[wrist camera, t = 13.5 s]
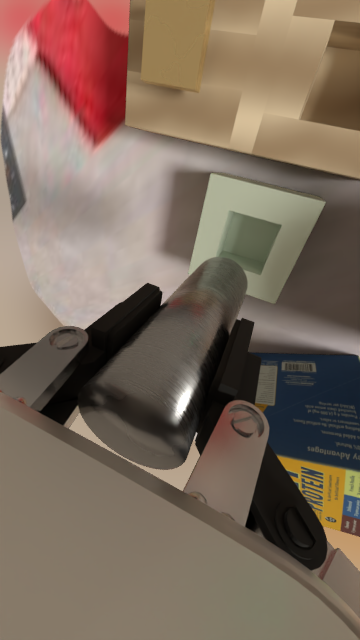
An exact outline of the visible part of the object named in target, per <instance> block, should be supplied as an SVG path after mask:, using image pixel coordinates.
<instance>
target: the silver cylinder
mask: <svg viewBox="0 0 360 640" xmlns="http://www.w3.org/2000/svg"><path fill="white" fill-rule="evenodd" d="M247 287H248V281H247V276H246V274H245V272H244V270H243V269H242V267H241V266H240V265H239V264H238V263H236V262H235V261H233V260H231V259H229V258H225V257H213V258H210V259H208V260H206V261H204V262H203V263H202V264H201V265H200V266H199V267H198V268H197V269H196V270H195V271H194V272H193V273H192V274H191V275H190V276H189V277H188V278H187V279H186V280H185V281H184V282H183V283H182V284H181V285H180V287H179V288H178V289H177V290H176V291H175V292H174V293H173V294H172V295H171V296H170V297H169V298H168V299H167V300H166V301H165V302H164V303H163V304H162V305H161V306H160V307H159V308H158V309H157V311H156V312H155V313H154V314H153V315H152V316H151V317H150V318H149V319H148V320H147V321H146V322H145V323H144V324H143V325H142V326H141V327H140V328H139V329H138V330H137V331H136V332H135V333H134V335H133V336H132V337H131V338H130V339H129V340H128V341H127V342H126V343H125V344H124V345H123V346H122V347H121V348H120V349H119V350H118V351H117V352H116V353H115V354H114V355H113V356H112V357H111V359H110V360H109V361H108V362H107V363H106V364H105V365H104V366H103V367H102V368H101V369H100V370H99V371H98V372H97V373H96V374H95V375H94V376H93V377H92V378H91V379H90V380H89V381H88V383H87V384H86V385H85V386H84V387H83V388H82V389H81V390H80V392H79V394H78V398H77V400H78V408H79V411H80V413H81V415H82V418H83V419H84V421H85V422H86V424H87V425H88V426H89V428H90V429H91V430H92V432H93V433H94V434H95V435H96V436H97V437H98V438H99V439H100V440H101V441H102V442H103V443H105V444H106V445H107V446H108V447H110V448H111V449H112V450H114V451H115V452H117V453H118V454H120V455H122V456H123V457H125V458H127V459H129V460H131V461H133V462H135V463H137V464H140V465H143V466H146V467H150V468H155V469H162V470H168V469H174V468H177V467H179V466H181V465H182V464H183V463H184V462H185V460H186V458H187V455H188V453H189V450H190V447H191V444H192V442H193V439H194V436H195V433H196V431H197V428H198V425H199V422H200V419H201V417H202V414H203V411H204V408H205V400H206V398H207V395H208V392H209V389H210V387H211V384H212V381H213V379H214V376H215V373H216V370H217V368H218V365H219V362H220V360H221V357H222V354H223V352H224V349H225V346H226V343H227V341H228V338H229V335H230V333H231V330H232V328H233V325H234V323H235V321H236V319H237V317H238V314H239V311H240V308H241V305H242V303H243V300H244V297H245V294H246V291H247Z"/></svg>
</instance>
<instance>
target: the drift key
mask: <svg viewBox="0 0 360 640" xmlns="http://www.w3.org/2000/svg"><path fill="white" fill-rule="evenodd" d="M214 6H215V0H146V5H145V21H144V36H143V52H142V67H141V80H142V81H144V82H145V83H147V84H152V85H157V86H163V87H168V88H174V89H179V90H184V91H190V92H195V93H200V87H201V81H202V75H203V69H204V64H205V58H206V52H207V46H208V40H209V35H210V29H211V23H212V17H213V12H214Z"/></svg>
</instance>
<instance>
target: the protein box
mask: <svg viewBox="0 0 360 640" xmlns="http://www.w3.org/2000/svg"><path fill="white" fill-rule="evenodd" d="M251 354H254V355H256V356H259V357H261V358H262V359H261V367H260V374H259V380H258V387H257V394H256V400H255V406H256V407H257V408H259V409H260V411H261V412H262V413H263V414H264V415H265V417H266V419H267V421H268V424H269V436H268V440H267V442H268V444H269V445H270V447H271V448H272V450H273V451H274V453H275V454H276V456H277V457H278V459H279V460H280V462H281V463H282V465H283V466H284V468H285V469H286V471H287V472H288V473H289V475H290V476H291V478H292V479H293V481H294V482H295V484H296V485H297V487H298V488H299V490H300V491H301V493H302V494H303V496H304V497H305V499H306V500H307V502H308V503H309V505H310V506H311V508H312V509H313V511H314V512H315V514H316V515H317V517H318V519H319V521H320V523H321V524H322V526H325V527H328V528H332V529H335V530H338V531H342V532H346V533H349V534H352V535H356V536H359V537H360V358H359V356H353V355H313V354H278V353H251Z"/></svg>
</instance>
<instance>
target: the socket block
mask: <svg viewBox="0 0 360 640" xmlns="http://www.w3.org/2000/svg"><path fill="white" fill-rule="evenodd" d="M145 5H146V0H130V17H129V41H128V66H127V91H126V116H125V125H126V126H130V127H134V128H137V129H141V130H145V131H148V132H152V133H157V134H161V135H165V136H170V137H174V138H178V139H183V140H187V141H192V142H196V143H200V144H205V145H209V146H213V147H218V148H222V149H227V150H231V151H235V152H240V153H244V154H248V155H253V156H257V157H262V158H266V159H270V160H275V161H279V162H283V163H288V164H292V165H296V166H301V167H305V168H310V169H314V170H318V171H323V172H327V173H331V174H336V175H340V176H345V177H349V178H353V179H358V180H360V0H215V6H214V12H213V17H212V23H211V29H210V35H209V40H208V46H207V52H206V58H205V64H204V69H203V75H202V81H201V87H200V93H195V92H190V91H184V90H179V89H174V88H168V87H163V86H157V85H152V84H147V83H145V82H144V81H142V80H141V67H142V52H143V36H144V21H145Z"/></svg>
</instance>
